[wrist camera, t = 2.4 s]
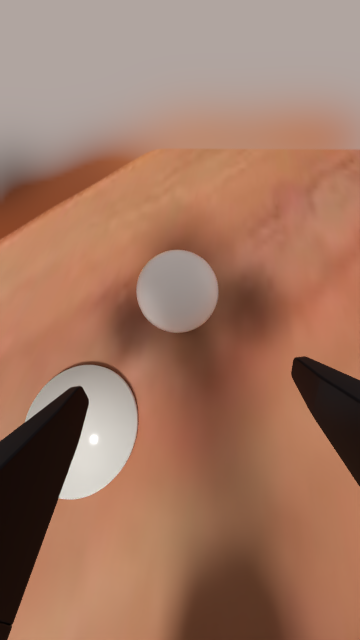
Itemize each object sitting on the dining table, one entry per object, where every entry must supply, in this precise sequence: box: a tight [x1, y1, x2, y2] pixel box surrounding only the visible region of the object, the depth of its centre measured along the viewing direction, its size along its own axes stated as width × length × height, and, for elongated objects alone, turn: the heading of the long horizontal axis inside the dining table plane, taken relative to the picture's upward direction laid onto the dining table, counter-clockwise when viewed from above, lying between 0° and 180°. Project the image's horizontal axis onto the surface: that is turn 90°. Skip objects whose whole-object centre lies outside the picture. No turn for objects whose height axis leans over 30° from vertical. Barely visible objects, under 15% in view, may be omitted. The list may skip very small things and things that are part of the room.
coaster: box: [25, 365, 138, 499], centre depth 19 cm, size 12×12×1 cm
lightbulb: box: [136, 250, 219, 333], centre depth 17 cm, size 6×6×11 cm
